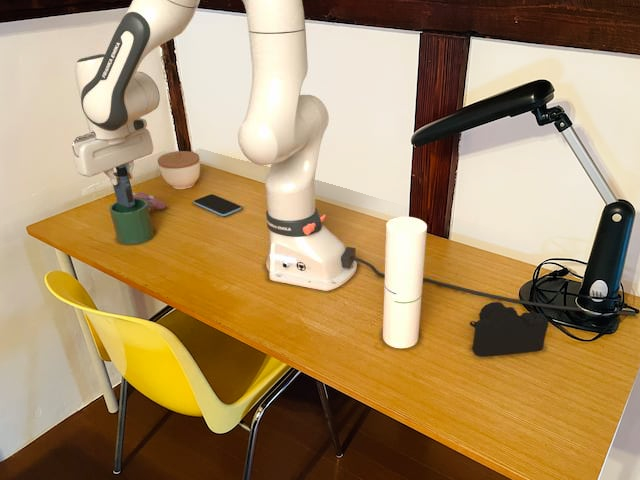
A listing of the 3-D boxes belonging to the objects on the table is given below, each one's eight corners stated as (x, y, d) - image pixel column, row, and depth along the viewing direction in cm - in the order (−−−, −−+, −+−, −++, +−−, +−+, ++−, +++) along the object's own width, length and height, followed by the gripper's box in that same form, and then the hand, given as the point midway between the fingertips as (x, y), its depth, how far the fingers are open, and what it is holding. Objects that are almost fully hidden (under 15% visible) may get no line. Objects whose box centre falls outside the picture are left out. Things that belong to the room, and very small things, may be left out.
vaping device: (129, 208, 136) (118, 163, 129) (115, 203, 138) (104, 159, 132) (137, 204, 138) (127, 160, 131) (124, 200, 140) (113, 156, 134)
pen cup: (161, 233, 144) (154, 202, 139) (134, 247, 137) (126, 216, 132) (137, 225, 148) (130, 195, 143) (110, 239, 141) (101, 208, 136)
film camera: (527, 322, 111) (535, 286, 106) (548, 352, 103) (557, 315, 98) (457, 328, 109) (462, 292, 104) (472, 360, 101) (478, 322, 96)
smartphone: (211, 193, 164) (243, 206, 156) (212, 195, 165) (243, 209, 157) (191, 200, 160) (223, 214, 151) (191, 203, 160) (223, 217, 152)
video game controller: (133, 213, 158) (121, 198, 152) (140, 201, 160) (128, 186, 154) (162, 217, 155) (151, 202, 149) (168, 205, 157) (158, 190, 152)
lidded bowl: (193, 174, 180) (187, 142, 174) (210, 185, 172) (205, 152, 166) (156, 183, 173) (149, 150, 167) (172, 195, 165) (166, 161, 159)
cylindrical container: (396, 321, 111) (401, 213, 98) (425, 335, 107) (434, 224, 94) (375, 338, 106) (378, 226, 93) (404, 353, 103) (411, 239, 89)
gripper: (79, 141, 118) (95, 198, 125) (151, 118, 133) (162, 171, 140) (61, 136, 120) (77, 193, 128) (134, 115, 136) (145, 166, 143)
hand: (122, 181), depth 134 cm, fingers closed on vaping device, 2 cm apart
